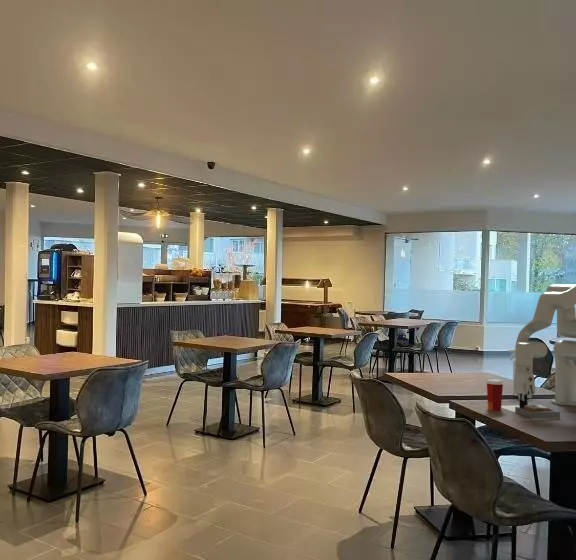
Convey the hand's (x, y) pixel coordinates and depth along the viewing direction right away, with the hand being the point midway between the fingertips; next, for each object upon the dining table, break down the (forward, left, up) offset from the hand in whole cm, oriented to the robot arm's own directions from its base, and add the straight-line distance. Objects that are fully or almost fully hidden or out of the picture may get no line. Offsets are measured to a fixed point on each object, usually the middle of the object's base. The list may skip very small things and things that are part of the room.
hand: (523, 408), depth 271 cm
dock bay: (0, +3, -1) cm, 3 cm away
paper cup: (+13, -3, -1) cm, 14 cm away
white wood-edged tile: (+1, +11, -1) cm, 11 cm away
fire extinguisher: (-24, -38, -1) cm, 45 cm away
